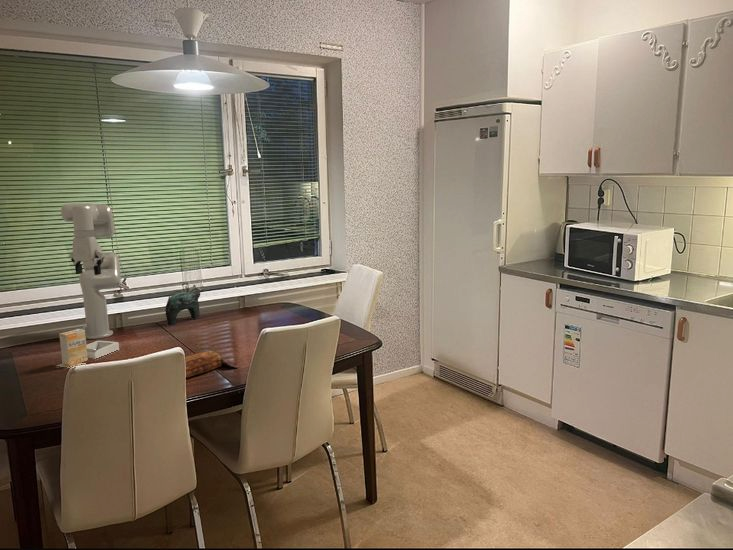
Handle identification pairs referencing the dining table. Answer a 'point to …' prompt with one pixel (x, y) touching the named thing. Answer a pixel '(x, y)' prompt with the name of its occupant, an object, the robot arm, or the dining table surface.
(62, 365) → the mat
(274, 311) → the dining table surface
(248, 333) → the dining table surface
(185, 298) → the green horse figurine
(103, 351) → the white shallow tray
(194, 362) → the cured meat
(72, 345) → the supplement box
